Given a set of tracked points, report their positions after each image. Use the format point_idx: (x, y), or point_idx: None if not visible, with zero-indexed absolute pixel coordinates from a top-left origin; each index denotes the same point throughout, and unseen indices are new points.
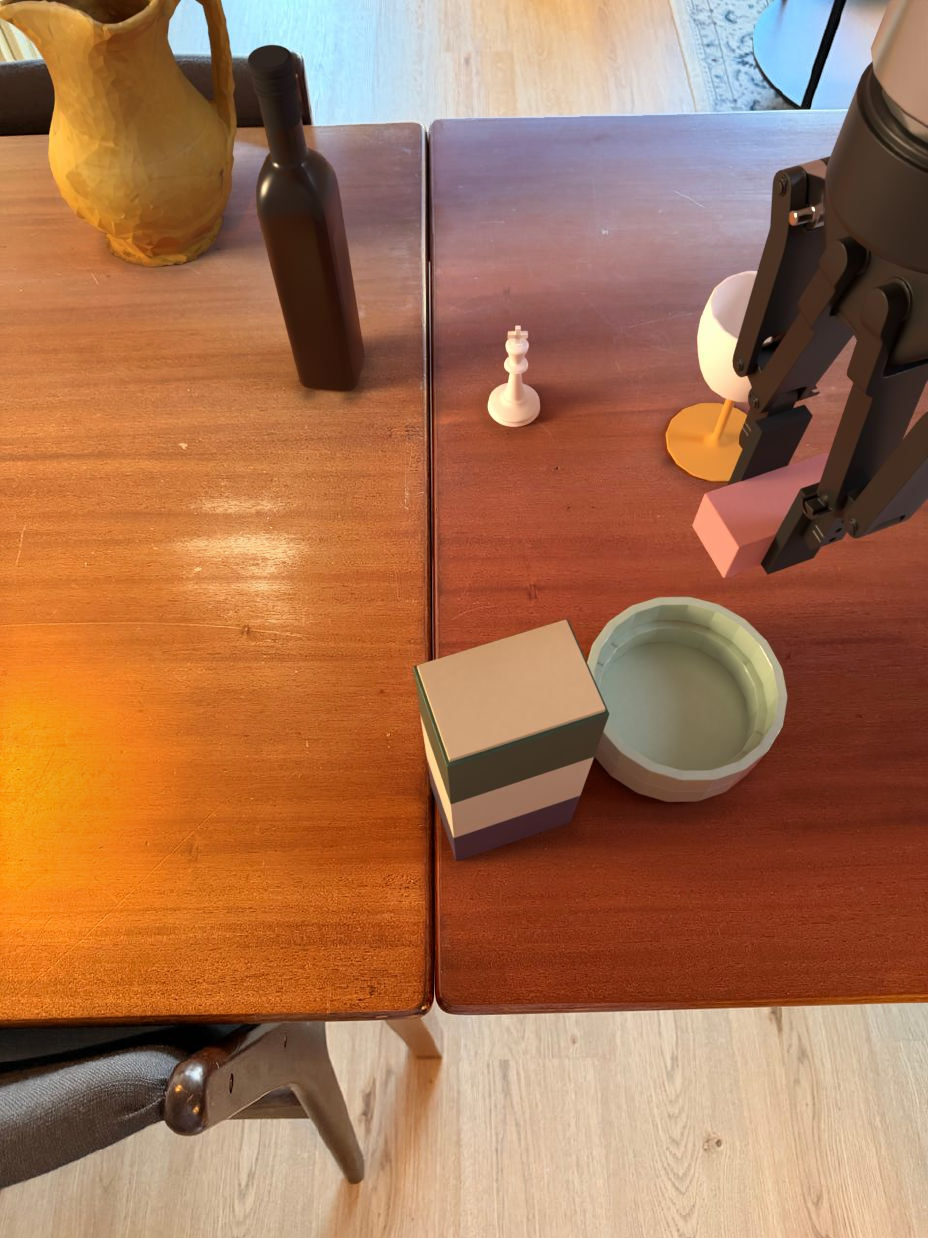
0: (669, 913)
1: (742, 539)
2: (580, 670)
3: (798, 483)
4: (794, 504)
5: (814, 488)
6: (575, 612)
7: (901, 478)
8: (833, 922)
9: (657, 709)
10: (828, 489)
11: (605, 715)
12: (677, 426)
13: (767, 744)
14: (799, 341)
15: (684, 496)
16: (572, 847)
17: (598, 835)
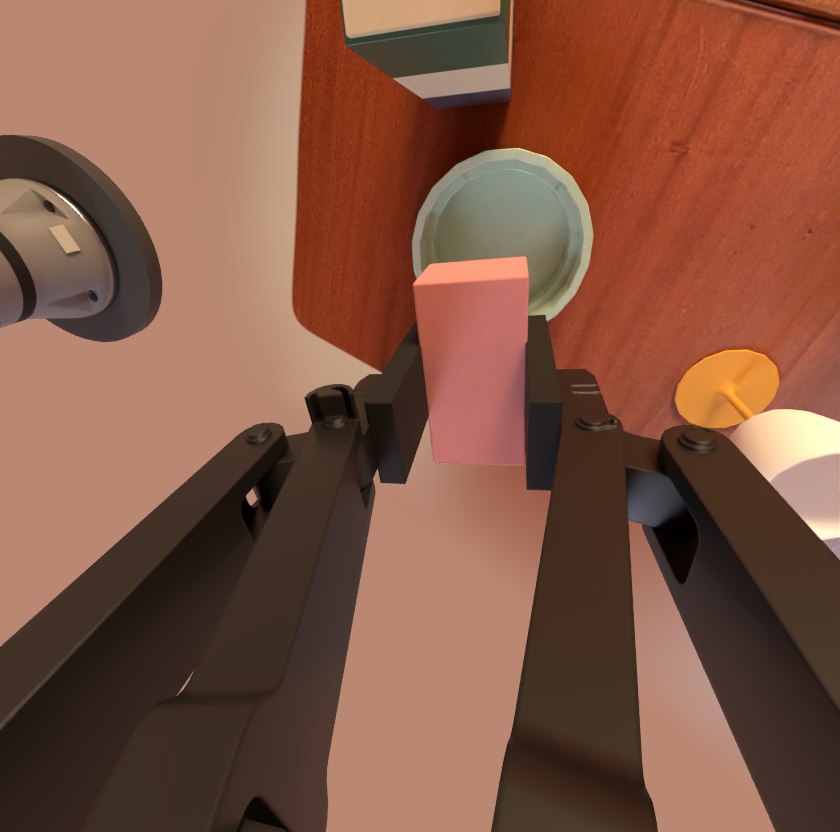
0: (352, 175)
1: (424, 296)
2: (409, 9)
3: (489, 413)
4: (397, 383)
5: (387, 422)
6: (631, 190)
7: (97, 572)
8: (331, 292)
9: (505, 231)
10: (327, 438)
11: (345, 38)
12: (764, 368)
13: None
14: (564, 632)
15: (688, 342)
16: (416, 103)
17: (421, 134)
